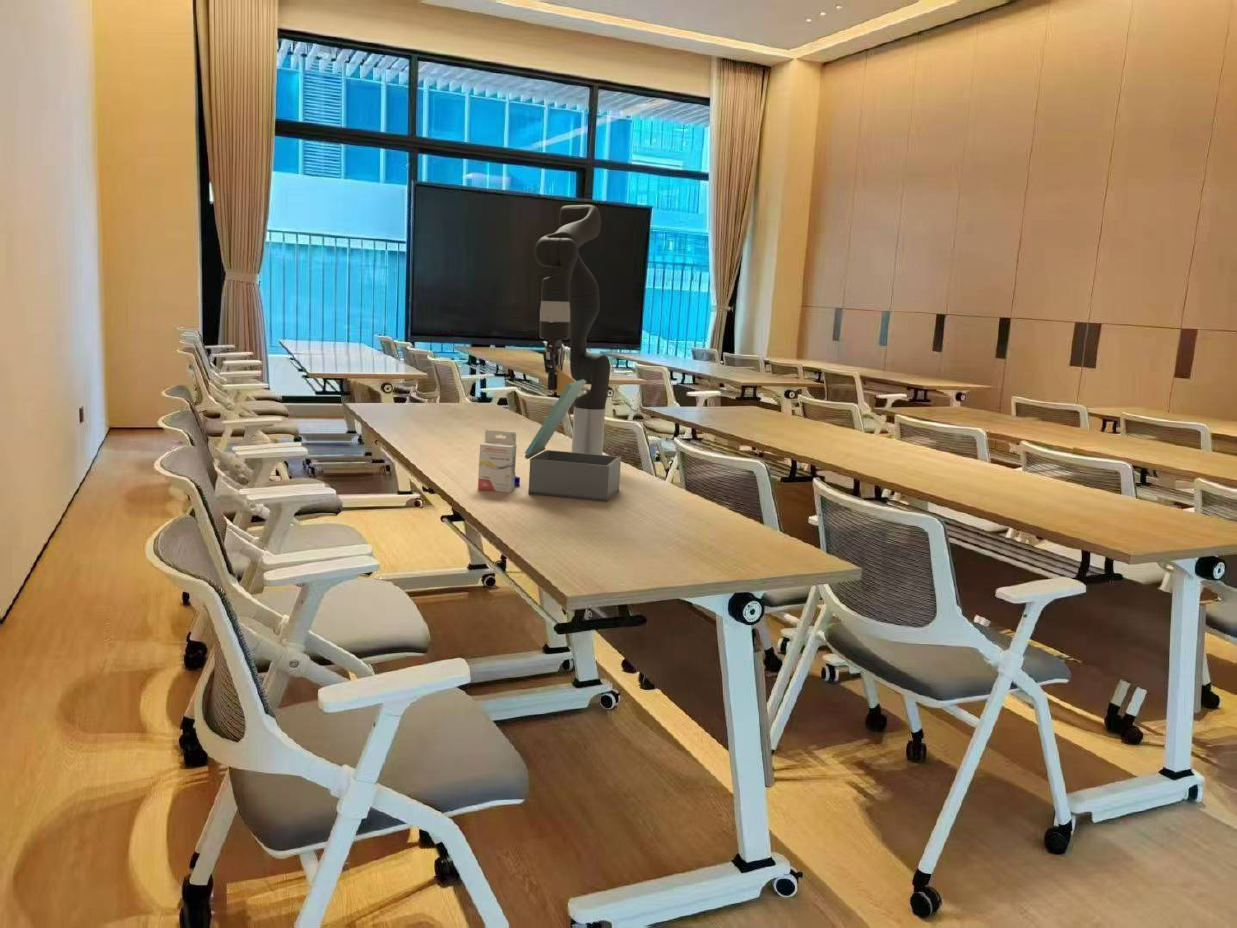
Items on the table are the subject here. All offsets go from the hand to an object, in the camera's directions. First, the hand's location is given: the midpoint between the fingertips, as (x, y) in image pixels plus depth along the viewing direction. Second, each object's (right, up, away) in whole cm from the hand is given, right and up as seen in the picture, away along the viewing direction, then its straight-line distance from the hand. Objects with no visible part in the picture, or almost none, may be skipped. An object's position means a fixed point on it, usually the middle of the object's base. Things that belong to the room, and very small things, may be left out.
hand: (553, 389), depth 237 cm
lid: (+1, -8, +1) cm, 8 cm away
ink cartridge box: (-15, -25, +1) cm, 29 cm away
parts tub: (+5, -26, +3) cm, 27 cm away
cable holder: (-13, -24, +9) cm, 29 cm away
